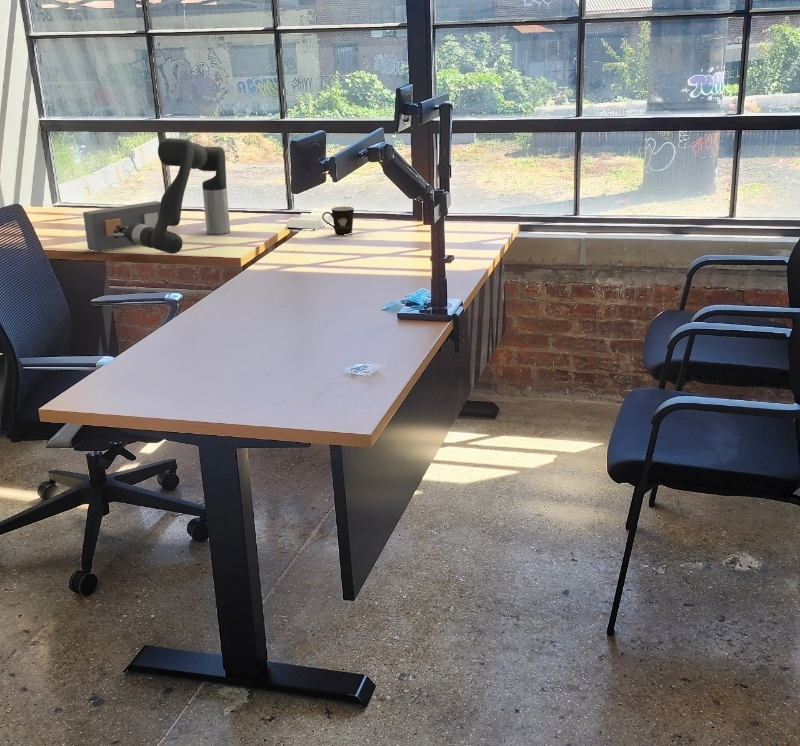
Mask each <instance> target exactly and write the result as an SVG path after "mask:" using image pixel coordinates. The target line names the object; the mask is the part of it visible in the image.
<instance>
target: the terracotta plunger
mask: <svg viewBox="0 0 800 746" xmlns="http://www.w3.org/2000/svg"><path fill="white" fill-rule="evenodd" d="M119 225H121V220H120V219H112V220H106V221H104V227H105V233H106V235H107V236H114V230H115V229H116V226H119Z"/></svg>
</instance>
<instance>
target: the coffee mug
mask: <svg viewBox="0 0 800 746" xmlns="http://www.w3.org/2000/svg"><path fill="white" fill-rule="evenodd" d="M354 211H355V208H354V207H352V206H351V207H334V208H332V213H330V212H325V213H324V214H323V216H322V218H323V220H324V221H325V222H326V223H327V224H329V225H328V226H330V227H333V229H334V233H335V235H336V234H337V235H336V236H338V235H344V234H349V233H352V234H353V223H354ZM326 213H328V214H330V215H331V216H332V218H333V221H334V223H332V224H330V223H328V222H327V221H326V220H325V219H324V215H325V214H326Z"/></svg>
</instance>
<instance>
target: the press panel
mask: <svg viewBox="0 0 800 746" xmlns="http://www.w3.org/2000/svg"><path fill="white" fill-rule="evenodd" d="M160 204H161V201H156V200H154V201H149V202H141V203H136V204H135V203H134V204H127V205H121V206H114V207H109V208H102V209H95V210H90V211H89V210H88V211H83V212H82V214H83V215H82V216H83V222H84V229H85V236H86V243H87V244H86V245H87V250H88V249H90V250H94V251H101V252H103V251H102V250H106V251H109V250H108V249H112V250H115V249H114V248H117V249H121V247H123V248H128V247H133V246H137V245H136V244H133V243H131V242H130V241H129V240H128V239H127V238H126V237H122V235H120V237H118V238H114V236H107V235H106V233H105V227H104V221H106V220H112V219H120V220H121V226H130V225H131V224H133V223H140V224H144V223H143V214H146V213H152V212H157V214H158V218H159V212H160ZM127 246H128V247H127ZM90 250H89V251H90Z"/></svg>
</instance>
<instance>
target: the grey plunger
mask: <svg viewBox="0 0 800 746" xmlns="http://www.w3.org/2000/svg"><path fill="white" fill-rule="evenodd" d="M157 221H158V214H157V212H152V213H146V214H143V223H144V225H148V226H150V227H153V228H155V226H156V223H157Z"/></svg>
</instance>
